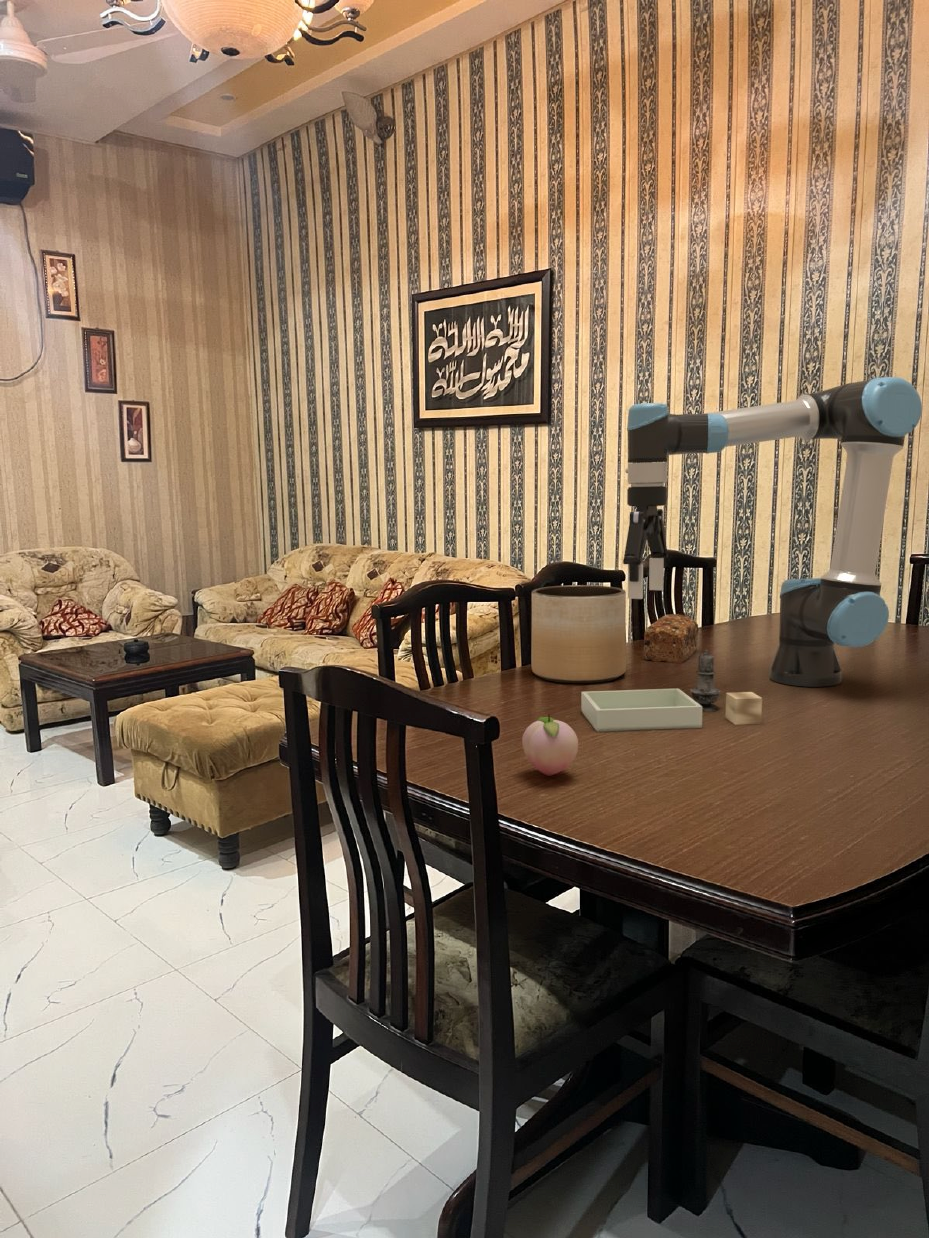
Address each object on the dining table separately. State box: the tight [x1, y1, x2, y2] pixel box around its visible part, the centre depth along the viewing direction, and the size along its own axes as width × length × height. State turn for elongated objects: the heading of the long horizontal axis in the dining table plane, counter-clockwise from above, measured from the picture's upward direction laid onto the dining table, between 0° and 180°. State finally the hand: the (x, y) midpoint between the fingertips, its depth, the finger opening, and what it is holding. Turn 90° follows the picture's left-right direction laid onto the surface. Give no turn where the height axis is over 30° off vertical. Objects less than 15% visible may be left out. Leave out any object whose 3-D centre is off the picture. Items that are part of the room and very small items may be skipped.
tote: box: [580, 687, 703, 733], centre depth 172 cm, size 20×15×4 cm
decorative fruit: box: [521, 713, 579, 777], centre depth 140 cm, size 9×8×10 cm
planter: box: [530, 584, 627, 684], centre depth 210 cm, size 22×22×20 cm
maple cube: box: [725, 691, 763, 726], centre depth 170 cm, size 5×5×5 cm
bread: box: [643, 613, 700, 664], centre depth 232 cm, size 19×11×10 cm, turn 153°
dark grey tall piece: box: [689, 648, 722, 713], centre depth 179 cm, size 6×6×12 cm
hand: (646, 594), depth 177 cm, fingers open, 13 cm apart
